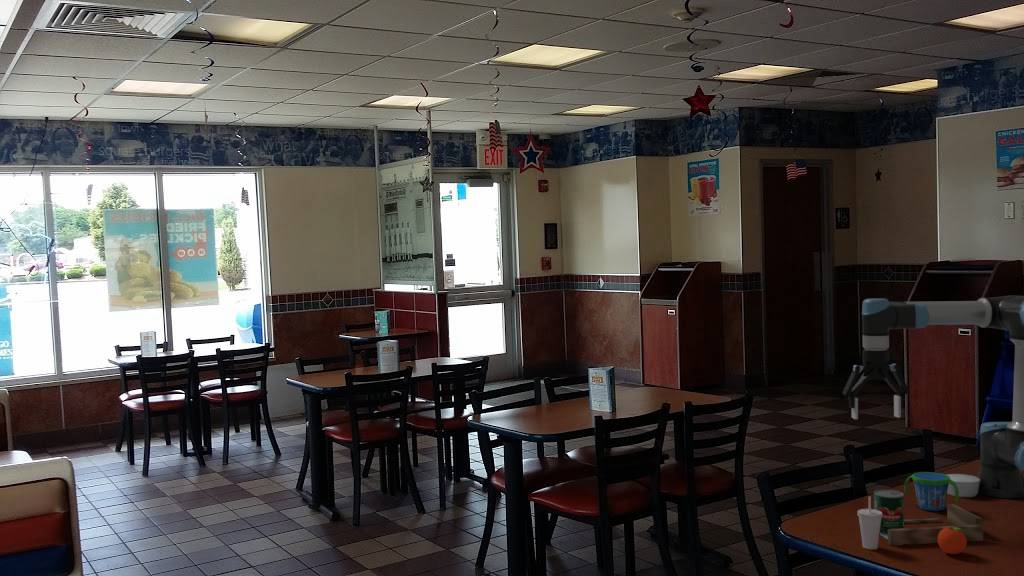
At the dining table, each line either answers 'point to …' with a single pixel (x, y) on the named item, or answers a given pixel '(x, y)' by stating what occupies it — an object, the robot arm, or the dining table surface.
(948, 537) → the clementine
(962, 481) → the ramekin
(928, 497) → the snack cup
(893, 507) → the canned tomato
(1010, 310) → the robot arm
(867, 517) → the smoothie
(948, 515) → the bay
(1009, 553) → the dining table surface
